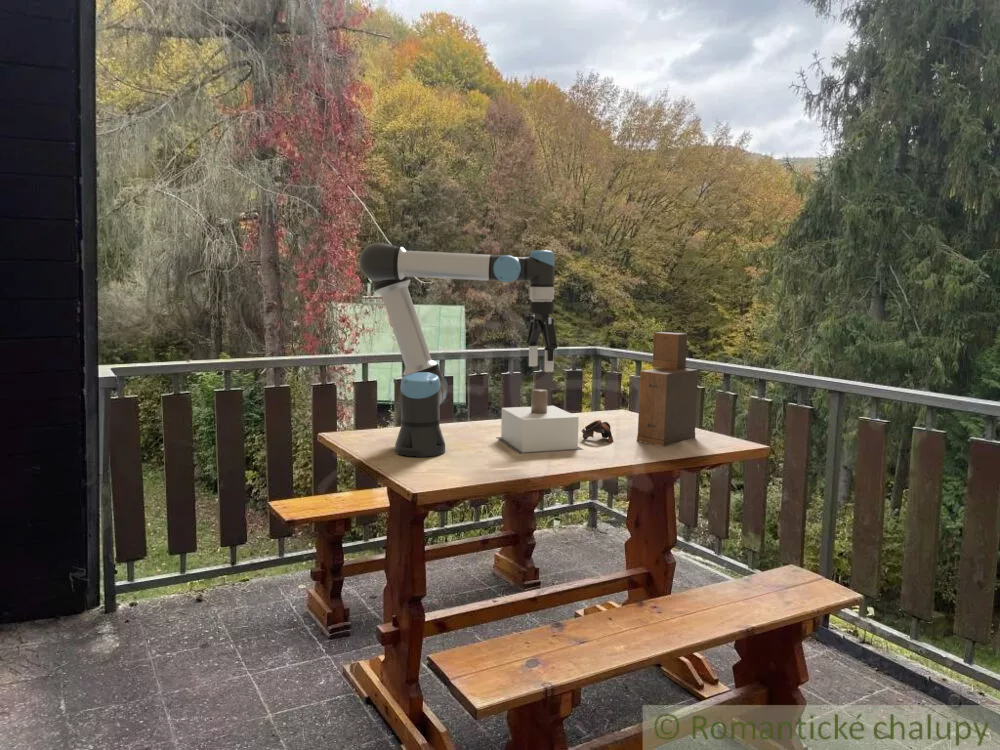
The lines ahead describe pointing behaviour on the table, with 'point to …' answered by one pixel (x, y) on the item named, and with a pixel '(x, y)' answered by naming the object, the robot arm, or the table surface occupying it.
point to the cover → (539, 426)
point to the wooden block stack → (668, 393)
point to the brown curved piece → (598, 430)
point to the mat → (532, 452)
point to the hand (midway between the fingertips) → (540, 368)
